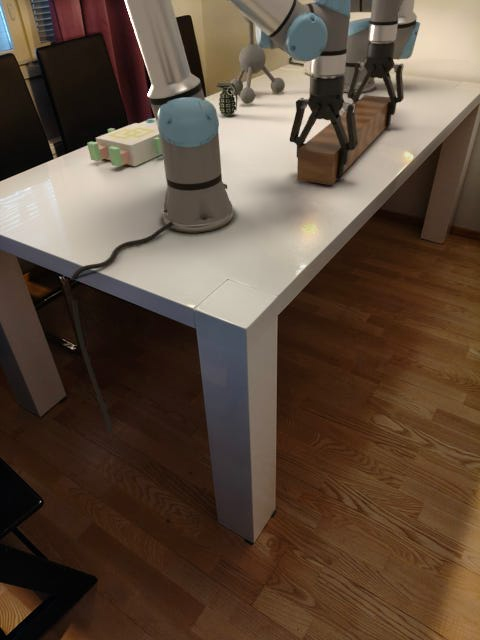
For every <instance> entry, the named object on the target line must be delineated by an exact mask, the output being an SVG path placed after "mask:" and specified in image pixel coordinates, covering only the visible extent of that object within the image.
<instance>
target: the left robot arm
mask: <svg viewBox="0 0 480 640" xmlns="http://www.w3.org/2000/svg"><path fill="white" fill-rule="evenodd" d="M226 1H227V2H228V3H229V4H230V5H231V6H233V7H234V8H235V9H236V10H237V11H239V13H240V14H242V16H243V15H244V16H246V17H247V18H248V19H249V20H250V21H251V22H252V23H253V25H254V29H255V30H254V31H255V32H254V33H255V40H256V45H258V46H259V47H260V48H261V49H263V50H271V51H272V50H274V49H276V50H277V49H279V50H281V51H282V52H284V53H286V54H287V55H289V57H292V59H293V60H295V61H298V62H307V61H311V70H310V72H311V74H313V75H312V76H311V75H310V77H309V95H308V96H309V97H308V98H304V97H300V98H298V99H297V100H296V101H295V109H296V110H295V116H294V118H293V123H292V128H291V131H290V132H291V133H290V136H289V142H290V143H294V144H295V145H296V158H297V159H298V149H299V148H301V147H302V146H303V145H304V144H305V143H306V139H307V138H308V137H309V134H310V133H311V130H312V128H313V126H314V125H315V123H316V121H317V120H325V121H330V123H331V124H332V125H333V127H334V130H335V132H336V135H337V138H338V140H339V143H340V146H341V148H342V149H341V150H340V151H339V154H338V166H337V180H340V179H341V178H342V177H343V175H344V173H343V170H344V165H346V164H347V162H348V158H349V150H354V149H355V148H356V147H357V146H358V140H357V131H356V122H355V109H356V103H354V102H353V101H352V103H350V102H347V101H346V102H345V100H344V92H343V90H344V78H345V77H344V76H343V75H342V74H343V73H344V72H345V65H346V54H347V40H348V31H349V22H351V20H350V19H351V13H350V7H351V3H350V0H312V2H309V3H304V4H303V3H302V2H300V1H299V0H226ZM124 3H125V6H126V9H127V12H128V15H129V18H130V22H131V24H132V28H133V30H134V34H135V38H136V40H137V43H138V47H139V49H140V53H141V55H142V59H143V61H144V65H145V68H146V71H147V74H148V77H149V80H150V88H149V89H148V90H149V91H148V93H147V97H148V100H149V103H150V106H151V109H152V112H153V115H154V119H156V122H157V126H158V131H159V134H160V140H161V147H162V153H163V154H162V159H163V168H164V174H165V180H166V190H165V191H166V192H165V196H164V203H163V207H162V218H163V222H164V224H165V225H163V226H162V227H160V228H159V229H157V230H155V232H153V233H152V234H150V235H149V236H147V237H144V238H140V239H135V240H130V241H126V242H123V243H121V244H119V245H118V246H116V247H115V248H114V249H113V250H112V252H111V254H110V256H109V257H108V258H107V259H106V260H104V261H102V262H97V263H92V264H86V265H83V266H81V267H79V268H78V269H77V270H75V272H73V274H72V275H71V278H70V281H75V280H77V278H78V277H79V276H80V275H81V273H82V274H83V272H85V271H89V270H94V269H95V270H96V269H100V268H105V267H106V266H108V265H110V264H111V263H113V261H114V260H115V258H116V256H117V255H118V253H119V252H120V251H121V250H123V249H125V248H127V247H131V246H135V245H141V244H144V243H145V244H146V243H148V242H150V241H152V240H154V239H155V238H157V237H158V236H159V235H160V234H162V233H164V232H165V231H166V230H168V229H171V230H173V231H177V232H180V233H190V234H191V233H192V234H193V233H194V234H195V233H196V234H197V233H205V232H206V233H207V232H210V231H215V230H216V229H220V228H222V227H224V226H226V225H227V224H228V223H230V221H231V220H232V218H233V216H234V212H233V211H234V210H233V204H232V201H231V200H230V197H229V195H228V192H227V190H228V184H227V183H224V182H223V175H222V174H223V173H222V164H221V163H222V161H221V147H220V134H219V127H220V122H219V120H220V119H219V117H218V114H217V109H216V107H215V105H214V104H213V103H212V102H210V101H209V100H207V99H206V98H205V93H204V90H203V86H202V83H201V79H200V78H199V77H197V76H196V75H194V74H193V73H192V72H191V69H190V65H189V61H188V58H187V55H186V51H185V46H184V43H183V40H182V35H181V32H180V29H179V25H178V21H177V16H176V14H175V10H174V6H173V3H172V0H124ZM307 107H309V109H310V111H311V113H310V114H309V116H308V119H307V121H306V123H305V125H304V127H303V129H302V131H301V127H302V124H303V123H302V122H303V118H304V116H305V115H304V114H305V110H306V108H307ZM342 109H343V110H344V111H343V113H344V112H345V113H346V121H347V129H348V137H349V141H348V138H347V135H346V133H345V130H344V127H343V124H342V122H341V116H340V115H341V113H340V112H341V110H342ZM300 131H301V133H300ZM299 134H300V135H299ZM71 304H72V312H73V313H72V314H73V320H74V323H75V325H74V326H75V330H76V334H77V338H78V342H79V346H80V349H81V353H82V356H83V359H84V362H85V365H86V369H87V371H88V374H89V377H90V380H91V383H92V386H93V388H94V391H95V394H96V397H97V400H98V402H99V405H100V408H101V411H102V414H103V416H104V420H105V423H106V426H107V429H108V432H109V436H110V439H111V440H114V439H115V438H116V435H115V432H114V430H113V426H112V422H111V420H110V416H109V414H108V410H107V408H106V405H105V402H104V399H103V396H102V393H101V390H100V388H99V385H98V382H97V379H96V376H95V373H94V370H93V367H92V364H91V361H90V357H89V354H88V350H87V347H86V344H85V340H84V335H83V330H82V327H81V326H82V325H81V321H80V316H79V308H78V301H77V300H75V299H71Z"/></svg>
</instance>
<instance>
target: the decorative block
mask: <svg viewBox="0 0 480 640" xmlns="http://www.w3.org/2000/svg"><path fill="white" fill-rule="evenodd" d="M86 145H87V149H88V153H89V157H90V160H91V161H93V162H94V161H95V162H100V161H103V160H107V161H110V164H111V166H114V167H119V168H120V167H122V166H124V165H127V166H132V167H137V166H139V165H141V164H145V163H146V162H148V161H150V160H153V159H155V158H157V157H159V156H161V155H163V153H162V147H161V140H160V134H159V131H158V126H157V122H156V119H155V118H148V119H146V120H144V121H141V122H139V123H138V122H133V123H132V124H128V125H126V126H123V127H121V128H118V129H116V128H113V127H110V128H108V129H107V133H104V134H101V135H99V136H97V137H95V141H89V142H87V143H86Z"/></svg>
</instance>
